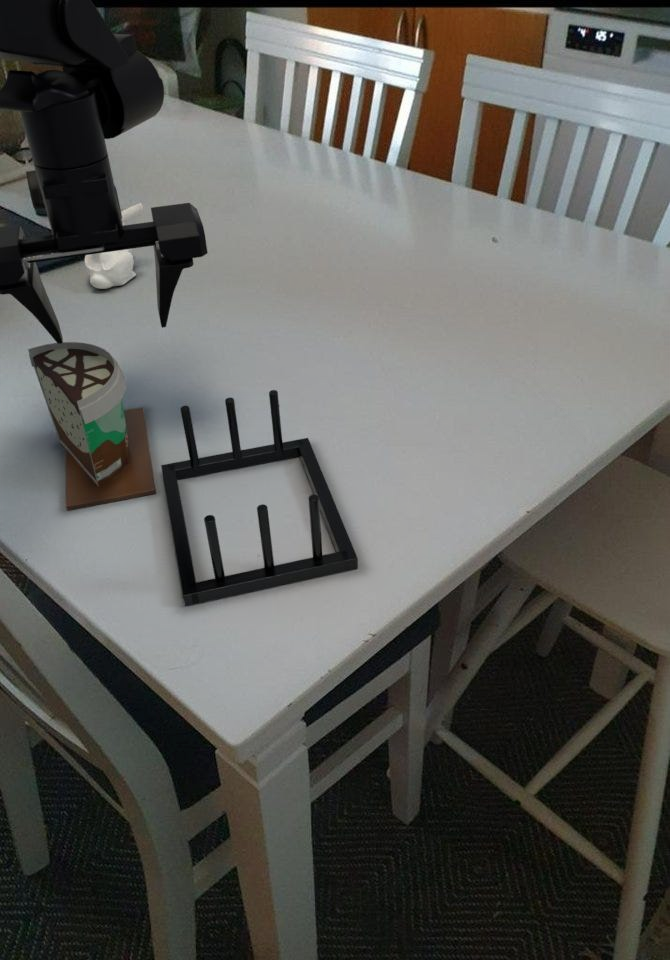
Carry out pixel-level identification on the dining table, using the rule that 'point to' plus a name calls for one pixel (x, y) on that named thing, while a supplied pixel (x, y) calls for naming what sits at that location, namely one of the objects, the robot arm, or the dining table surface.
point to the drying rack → (249, 457)
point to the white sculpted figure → (113, 260)
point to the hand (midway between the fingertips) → (112, 333)
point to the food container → (85, 405)
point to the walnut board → (123, 486)
